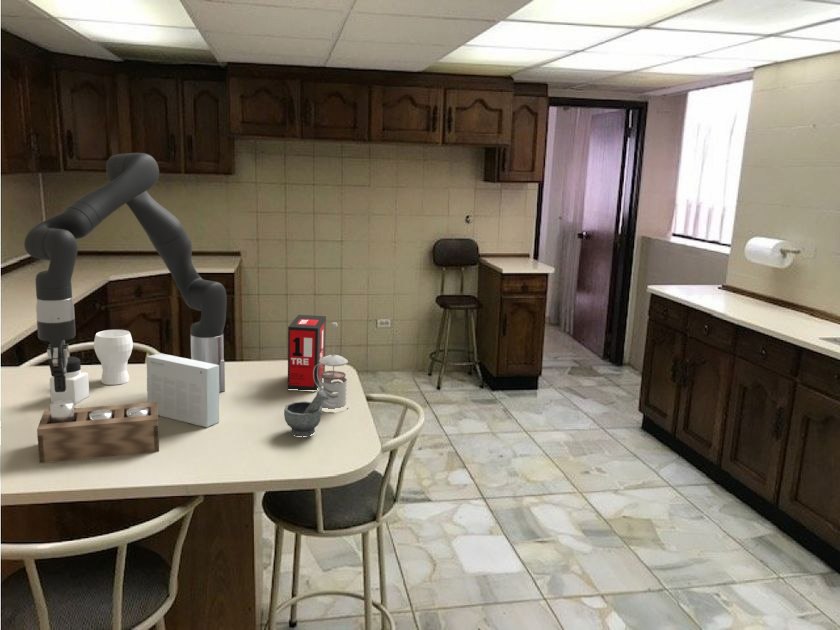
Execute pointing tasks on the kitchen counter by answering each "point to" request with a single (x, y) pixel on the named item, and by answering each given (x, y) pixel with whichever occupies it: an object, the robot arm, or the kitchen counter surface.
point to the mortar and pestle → (304, 415)
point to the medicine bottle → (72, 383)
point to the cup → (113, 355)
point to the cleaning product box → (305, 351)
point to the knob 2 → (137, 411)
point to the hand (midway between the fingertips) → (60, 390)
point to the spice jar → (100, 414)
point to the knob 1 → (62, 411)
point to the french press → (328, 387)
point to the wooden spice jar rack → (98, 434)
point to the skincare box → (184, 389)
